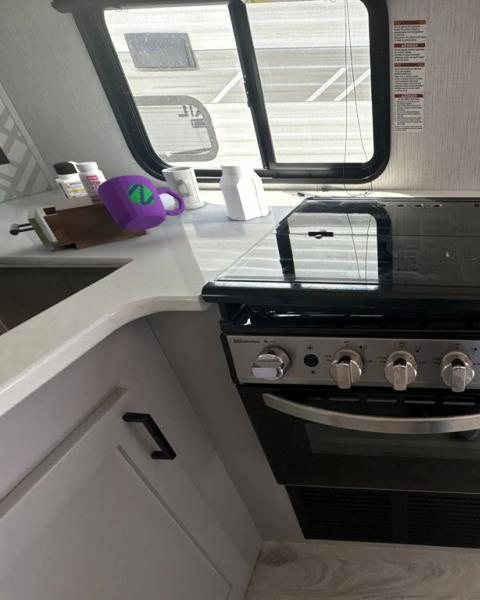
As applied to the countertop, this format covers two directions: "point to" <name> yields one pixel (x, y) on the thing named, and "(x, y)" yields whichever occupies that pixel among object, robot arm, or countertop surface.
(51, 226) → the drawer
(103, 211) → the cabinet
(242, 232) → the countertop surface
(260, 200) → the jar
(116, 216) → the mug
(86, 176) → the pill bottle
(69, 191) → the container
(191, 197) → the cup
